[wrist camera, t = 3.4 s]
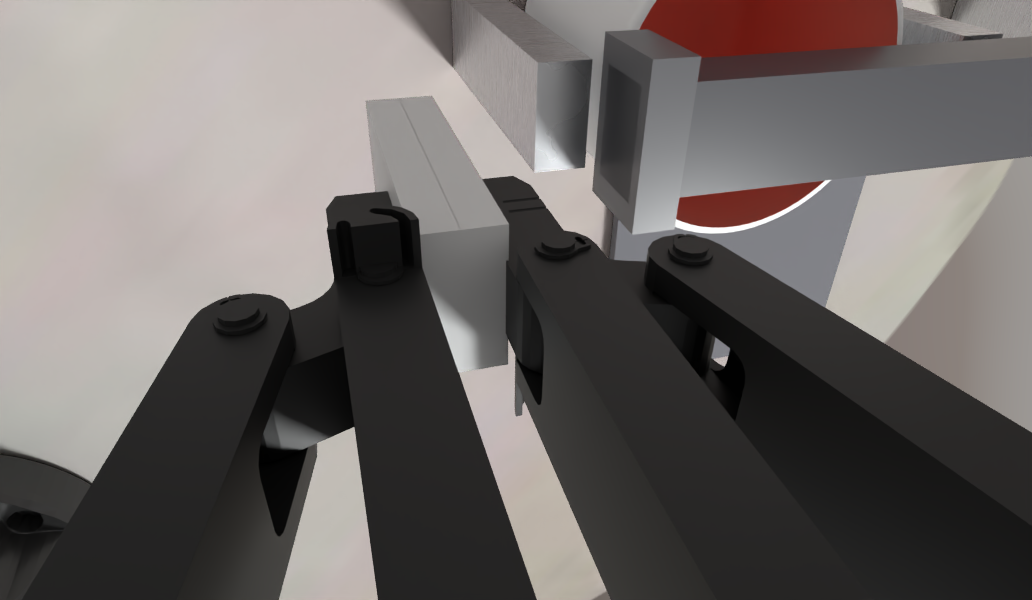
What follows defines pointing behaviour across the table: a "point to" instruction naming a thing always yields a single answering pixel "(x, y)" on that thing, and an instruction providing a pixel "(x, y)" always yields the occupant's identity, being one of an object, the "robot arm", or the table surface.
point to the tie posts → (567, 71)
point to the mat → (777, 242)
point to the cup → (724, 32)
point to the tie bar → (797, 117)
